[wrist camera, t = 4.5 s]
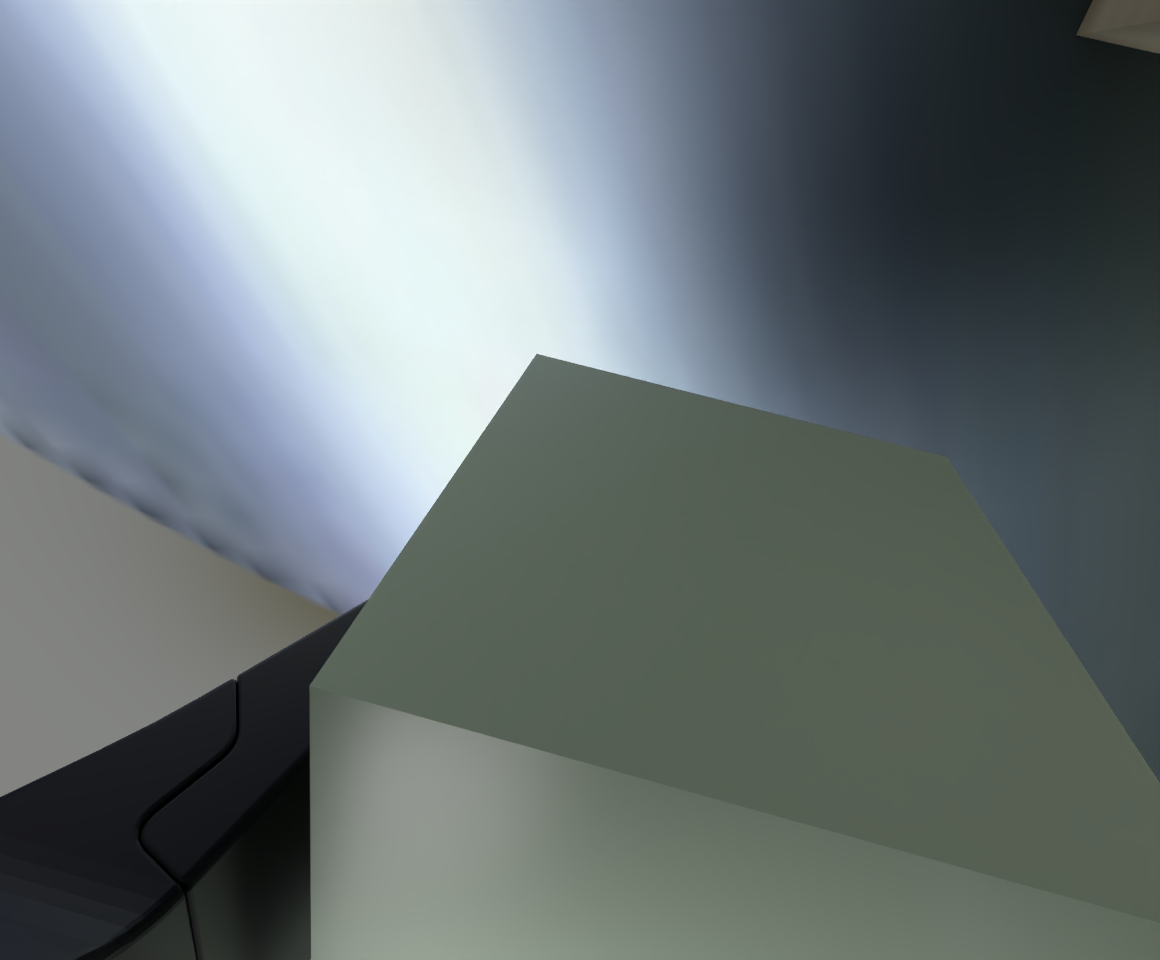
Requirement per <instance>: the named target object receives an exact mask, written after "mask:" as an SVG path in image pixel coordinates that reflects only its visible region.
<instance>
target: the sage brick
mask: <svg viewBox="0 0 1160 960" xmlns="http://www.w3.org/2000/svg"><path fill="white" fill-rule="evenodd" d="M309 691H310V865H311V960H1160V783H1159V782H1158V780H1157V778H1156V777H1155V775H1154V774H1153V772H1152V771H1151V769H1150V768H1149V766H1148V765H1147V763H1146V762H1145V760H1144V759H1143V757H1142V755H1141V754H1140V752H1139V751H1138V749H1137V748H1136V746H1135V745H1134V743H1133V742H1132V740H1131V739H1130V737H1129V736H1128V734H1127V732H1126V731H1125V729H1124V728H1123V726H1122V725H1121V723H1120V722H1119V720H1118V719H1117V717H1116V716H1115V714H1114V713H1113V711H1112V709H1111V708H1110V706H1109V705H1108V703H1107V702H1106V700H1105V699H1104V697H1103V696H1102V694H1101V693H1100V691H1099V690H1098V688H1097V686H1096V685H1095V683H1094V682H1093V680H1092V679H1091V677H1090V676H1089V674H1088V673H1087V671H1086V670H1085V668H1084V667H1083V665H1082V663H1081V662H1080V660H1079V659H1078V657H1077V656H1076V654H1075V653H1074V651H1073V650H1072V648H1071V647H1070V645H1069V644H1068V642H1067V640H1066V639H1065V637H1064V636H1063V634H1062V633H1061V631H1060V630H1059V628H1058V627H1057V625H1056V624H1055V622H1054V621H1053V619H1052V617H1051V616H1050V614H1049V613H1048V611H1047V610H1046V608H1045V607H1044V605H1043V604H1042V602H1041V601H1040V599H1039V598H1038V596H1037V594H1036V593H1035V591H1034V590H1033V588H1032V587H1031V585H1030V584H1029V582H1028V581H1027V579H1026V578H1025V576H1024V575H1023V573H1022V571H1021V570H1020V568H1019V567H1018V565H1017V564H1016V562H1015V561H1014V559H1013V558H1012V556H1011V555H1010V553H1009V552H1008V550H1007V548H1006V547H1005V545H1004V544H1003V542H1002V541H1001V539H1000V538H999V536H998V535H997V533H996V532H995V530H994V529H993V527H992V525H991V524H990V522H989V521H988V519H987V518H986V516H985V515H984V513H983V512H982V510H981V509H980V507H979V506H978V504H977V502H976V501H975V499H974V498H973V496H972V495H971V493H970V492H969V490H968V489H967V487H966V486H965V484H964V483H963V481H962V479H961V478H960V476H959V475H958V473H957V472H956V470H955V469H954V467H953V466H952V464H951V463H950V461H949V460H948V458H947V457H945V456H941V455H937V454H933V453H929V452H925V451H921V450H917V449H913V448H909V447H905V446H901V445H897V444H893V443H889V442H885V441H881V440H877V439H873V438H869V437H865V436H861V435H857V434H853V433H849V432H845V431H841V430H837V429H834V428H830V427H826V426H822V425H818V424H814V423H810V422H806V421H802V420H798V419H794V418H790V417H786V416H782V415H778V414H774V413H770V412H766V411H762V410H758V409H754V408H750V407H746V406H742V405H738V404H734V403H730V402H726V401H722V400H718V399H714V398H710V397H706V396H702V395H698V394H694V393H690V392H686V391H682V390H678V389H674V388H670V387H666V386H662V385H658V384H654V383H650V382H646V381H642V380H638V379H634V378H630V377H626V376H622V375H618V374H614V373H610V372H606V371H602V370H598V369H594V368H590V367H587V366H583V365H579V364H575V363H571V362H567V361H563V360H559V359H555V358H551V357H547V356H543V355H539V354H536V356H535V357H534V359H533V360H532V362H531V363H530V365H529V366H528V367H527V369H526V370H525V372H524V373H523V375H522V376H521V378H520V379H519V381H518V382H517V384H516V385H515V386H514V388H513V389H512V391H511V392H510V394H509V395H508V397H507V398H506V400H505V401H504V403H503V404H502V405H501V407H500V408H499V410H498V411H497V413H496V414H495V416H494V417H493V419H492V420H491V422H490V423H489V424H488V426H487V427H486V429H485V430H484V432H483V433H482V435H481V436H480V438H479V439H478V440H477V442H476V443H475V445H474V446H473V448H472V449H471V451H470V452H469V454H468V455H467V457H466V458H465V459H464V461H463V462H462V464H461V465H460V467H459V468H458V470H457V471H456V473H455V474H454V476H453V477H452V478H451V480H450V481H449V483H448V484H447V486H446V487H445V489H444V490H443V492H442V493H441V495H440V496H439V497H438V499H437V500H436V502H435V503H434V505H433V506H432V508H431V509H430V511H429V512H428V514H427V515H426V516H425V518H424V519H423V521H422V522H421V524H420V525H419V527H418V528H417V530H416V531H415V532H414V534H413V535H412V537H411V538H410V540H409V541H408V543H407V544H406V546H405V547H404V549H403V550H402V551H401V553H400V554H399V556H398V557H397V559H396V560H395V562H394V563H393V565H392V566H391V568H390V569H389V570H388V572H387V573H386V575H385V576H384V578H383V579H382V581H381V582H380V584H379V585H378V587H377V588H376V589H375V591H374V592H373V594H372V595H371V597H370V598H369V600H368V601H367V603H366V604H365V606H364V607H363V608H362V610H361V611H360V613H359V614H358V616H357V617H356V619H355V620H354V622H353V623H352V625H351V626H350V627H349V629H348V630H347V632H346V633H345V635H344V636H343V638H342V639H341V641H340V642H339V643H338V645H337V646H336V648H335V649H334V651H333V652H332V654H331V655H330V657H329V658H328V660H327V661H326V662H325V664H324V665H323V667H322V668H321V670H320V671H319V673H318V674H317V676H316V677H315V679H314V680H313V681H312V683H311V684H310V686H309Z"/></svg>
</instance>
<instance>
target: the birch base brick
mask: <svg viewBox="0 0 1160 960" xmlns="http://www.w3.org/2000/svg"><path fill="white" fill-rule="evenodd" d="M1076 35H1078V36H1082V37H1087V38H1091V39H1096V40H1100V41H1105V42H1109V43H1113V44H1118V45H1122V46H1127V47H1131V48H1136V49H1140V50H1145V51H1149V52H1154V53H1158V54H1160V0H1093V1H1092V3H1091V5H1090V7H1089V9H1088V11H1087V13H1086V15H1085V17H1084V20H1083V22H1082V24H1081V26H1080V28H1079V30H1078V32H1077V34H1076Z"/></svg>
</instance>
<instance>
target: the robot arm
mask: <svg viewBox="0 0 1160 960" xmlns="http://www.w3.org/2000/svg"><path fill="white" fill-rule="evenodd" d="M368 600H369V599H368ZM368 600H366V601H365V602H363V603H361V604H360V605H358V606H356V607H354V608H353V609H351V610H349V611H348V612H346V613H344V614H342V615H341V616H339V617H337V618H336V619H334V620H332V621H331V622H329V623H327V624H326V625H324V626H322V627H320V628H319V629H317V630H315V631H313V632H312V633H310V634H308V635H306V636H305V637H303V638H302V639H300V640H298V641H296V642H294V643H293V644H291V645H290V646H288V647H286V648H284V649H282V650H281V651H279V652H278V653H276V654H274V655H272V656H270V657H269V658H267V659H265V660H264V661H262V662H260V663H259V664H257V665H255V666H253V667H252V668H250V669H248V670H247V671H245V672H243V673H241V674H240V675H239V676H238V677H237V682H236V680H234V679H231V680H229V681H227V682H225V683H224V684H222V685H220V686H219V687H217V688H215V689H213V690H212V691H210V692H209V693H206V694H205V695H203V696H201V697H199V698H198V699H196V700H194V701H192V702H190V703H189V704H187V705H185V706H183V707H182V708H180V709H178V710H176V711H174V712H172V713H171V714H169V715H167V716H165V717H163V718H162V719H160V720H158V721H156V722H154V723H152V724H150V725H148V726H146V727H144V728H142V729H140V730H139V731H136V732H134V733H132V734H130V735H128V736H126V737H124V738H122V739H120V740H118V741H116V742H114V743H112V744H110V745H108V746H106V747H104V748H102V749H100V750H98V751H96V752H94V753H92V754H90V755H88V756H86V757H83V758H81V759H79V760H77V761H75V762H73V763H71V764H69V765H67V766H65V767H63V768H60V769H58V770H56V771H54V772H52V773H50V774H48V775H46V776H43V777H41V778H39V779H37V780H35V781H33V782H31V783H29V784H27V785H25V786H23V787H20V788H19V789H16V790H14V791H12V792H10V793H8V794H6V795H4V796H2V797H0V960H310V959H311V865H310V691H309V686H310V684H311V683H312V681H313V680H314V679H315V677H316V676H317V674H318V673H319V671H320V670H321V668H322V667H323V665H324V664H325V662H326V661H327V660H328V658H329V657H330V655H331V654H332V652H333V651H334V649H335V648H336V646H337V645H338V643H339V642H340V641H341V639H342V638H343V636H344V635H345V633H346V632H347V630H348V629H349V627H350V626H351V625H352V623H353V622H354V620H355V619H356V617H357V616H358V614H359V613H360V611H361V610H362V608H363V607H364V606H365V604H366V603H367V601H368Z"/></svg>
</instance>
